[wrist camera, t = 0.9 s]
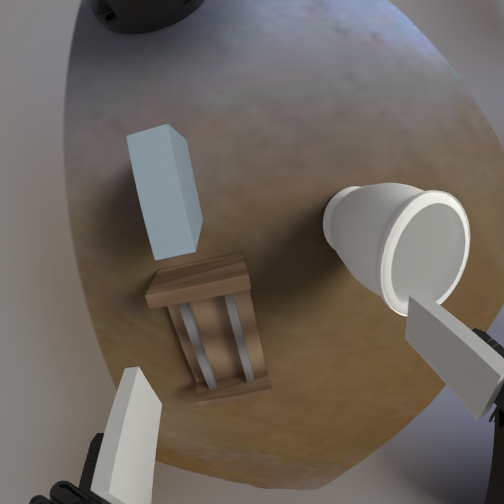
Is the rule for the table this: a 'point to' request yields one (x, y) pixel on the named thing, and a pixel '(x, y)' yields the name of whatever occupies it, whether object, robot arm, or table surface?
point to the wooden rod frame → (215, 326)
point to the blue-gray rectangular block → (166, 190)
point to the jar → (399, 240)
